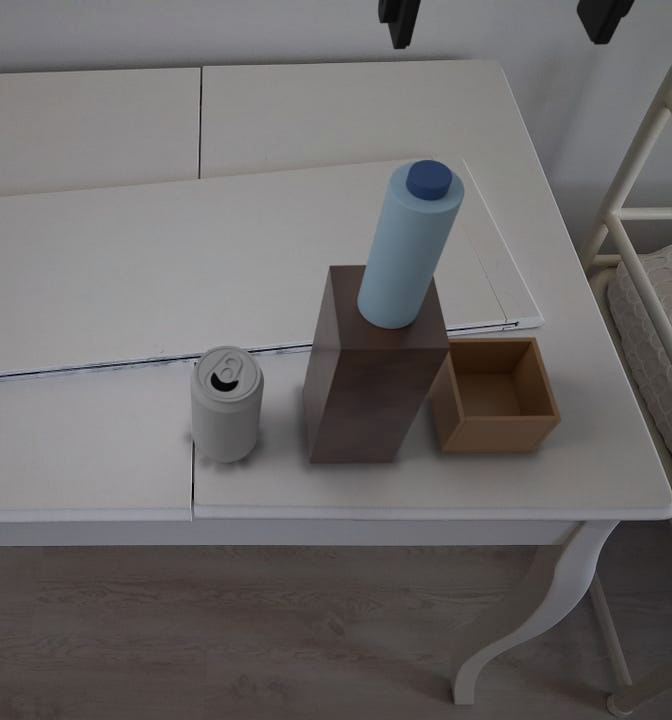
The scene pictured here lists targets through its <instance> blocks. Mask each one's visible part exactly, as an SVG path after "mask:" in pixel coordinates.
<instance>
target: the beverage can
mask: <svg viewBox="0 0 672 720" xmlns="http://www.w3.org/2000/svg"><path fill="white" fill-rule="evenodd" d="M264 377H265V376H264V373H263V370H262V369H261V367H260V364H259V362H258V360H257V359H256V358H255V357H254V355H252V354H251V353H250V352H248V350H246V349H244V348H241V347H240V346H239V347H238V346H235V345H219V346H215V347H213V348H211V349H209V350H207V351H205V352H204V353H203V354H202V355H201V356H200V357H199V358H198V360H197V362H196V363H195V365H194V367H193V368H192V370H191V374H190V383H189V385H190V402H191V403H190V404H191V405H190V407H191V409H190V410H191V433H192V434H191V435H192V440H193V443H194V445H195V447H196V449H197V450H198V451H199V452H200V453H201V454H202V455H203V456H204V457H206V458H207V459H209V460H212V461H214V462H218V463H233V462H237V461H240V460H242V459H244V458H245V457H246V456H248V455H249V454H250V453H251V452H252V451H253V450H254V448H255V446H256V443H257V441H258V434H259V427H260V418H261V411H262V403H263V395H264V388H265V378H264Z"/></svg>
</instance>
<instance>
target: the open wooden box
mask: <svg viewBox="0 0 672 720" xmlns="http://www.w3.org/2000/svg"><path fill="white" fill-rule="evenodd" d="M448 340H449V344H450V350H449V352H448V354H447V356H446V358H445V360H444V362H443V364H442V366H441V368H440V370H439V372H438V374H437V375H436V377H435V379H434V381H433V383H432V385H431V387H430V389H429V391H428V397H429V402H430V405H431V411H432V416H433V421H434V427H435V430H436V435H437V436H436V437H437V441H438V445H439V450H440V453H507V452H509V453H514V452H515V453H516V452H536V450H537V449H538V448H539V446H541V444H542V443H543V442H544V441H545V440H546V439H547V437H548V436H549V435H550V434H551V433H552V432H553V431H554V430H555V428H556V427H557V426H558V425H559V424H560V422H561V421H562V417H561V414H560V411H559V408H558V405H557V402H556V398H555V395H554V392H553V388H552V386H551V381H550V379H549V376H548V373H547V369H546V366H545V363H544V359H543V357H542V354H541V350H540V347H539V344H538V340H537V338H536V337H535V336H531V337H530V336H529V337H528V336H527V337H526V336H524V337H523V336H521V337H519V336H518V337H451V338H450V337H448Z"/></svg>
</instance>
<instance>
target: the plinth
mask: <svg viewBox="0 0 672 720" xmlns="http://www.w3.org/2000/svg"><path fill="white" fill-rule="evenodd" d="M366 265H367V264H353V265H352V264H347V265H346V264H345V265H344V264H343V265H342V264H341V265H336V264H335V265H329V266H328V271H327V274H326V275H327V276H326V281H325V286H324V289H323V290H324V291H323V293H322V299H321V305H320V308H319V312H318V317H317V322H316V328H315V330H314V331H315V332H314V336H313V340H312V346H311V350H310V353H309V354H310V355H309V359H308V364H307V368H306V371H305V372H306V373H305V377H304V382H303V386H302V392H301V395H302V404H303V415H304V424H305V426H304V427H305V435H306V436H305V437H306V445H307V457H308V464H312V465H313V464H392V463H393V462H394V460H395V458H396V456H397V454H398V452H399V450H400V449H401V446H402V444H403V442H404V440H405V439H406V436H407V435H408V432H410V431H409V430H410V429H411V427H412V425H413V423H414V421H415V419H416V417H417V415H418V413H419V412H420V409H421V407H422V405H423V403H424V401H425V399H426V397H427V395H428V394H429V392H428V391H429V389H430V387H431V385H432V383H433V381H434V379H435V377H436V375H437V374H438V372H439V370H440V368H441V366H442V364H443V362H444V360H445V358H446V356H447V354H448V352H449V350H450V344H449V340H448V338H449V335H448V332H447V331H448V330H447V327H446V324H445V323H446V322H445V319H444V314H443V310H442V306H441V302H440V297H439V293H438V289H437V285H436V284H437V283H436V280H435V276H434V275H433V276H432V279H431V282H430V284H429V287H428V289H427V292H426V294H425V297H424V299H423V302H422V305H421V307H420V310H419V312H418V315H417V317H416V318H415V319H414V321H413V322H411V323H410V324H409V325H407V326H404V327H402V328H397V329H387V328H382V327H379V326H376V325H374V324H372V323H370V322H369V321H368V320H366V319H365V318H364V317H363V315H362V314H361V312H360V310H359V308H358V304H357V299H358V295H359V291H360V287H361V284H362V280H363V276H364V272H365V269H366Z"/></svg>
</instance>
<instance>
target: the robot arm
mask: <svg viewBox="0 0 672 720" xmlns="http://www.w3.org/2000/svg"><path fill="white" fill-rule="evenodd" d="M635 1H636V0H579V1H578V3H577V5H576V15H577V16H578V18H579V20H580V22H581V24H582V26H583V28H584V30H585V32H586V34H587V36H588V39H589V41H590V42H592V43H593V44H594V45H595V46H598V45H600V46H602V45H605V46H606V45H609V44H610V42H611V40H612V38H613V36H614V34H615V32H616V31H617V28H618V26H619V24H620V22H621V20H622V18H625V17H626V16H628V14H629V13H630V11H631V9H632V7H633V5H634V3H635ZM421 3H422V0H378V4H377V16H378V20H379V23H380V24H387V27H388V32H389V35H390V39H391V43H392V47H393V50H406V48H407V47H410V46H411V42H412V39H413V34H414V31H415V26H416V23H417V19H418V14H419V11H420V7H421Z"/></svg>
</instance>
